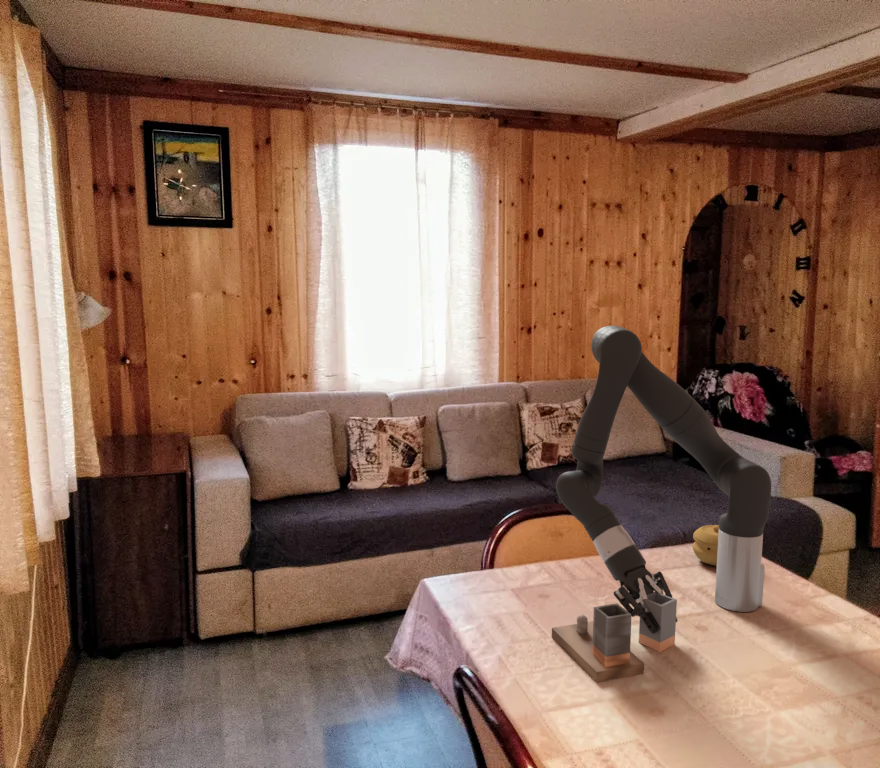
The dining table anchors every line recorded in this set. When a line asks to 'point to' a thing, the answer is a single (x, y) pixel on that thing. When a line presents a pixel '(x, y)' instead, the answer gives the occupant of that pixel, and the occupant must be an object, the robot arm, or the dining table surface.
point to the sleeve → (659, 622)
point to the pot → (706, 544)
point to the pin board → (601, 643)
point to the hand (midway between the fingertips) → (665, 627)
